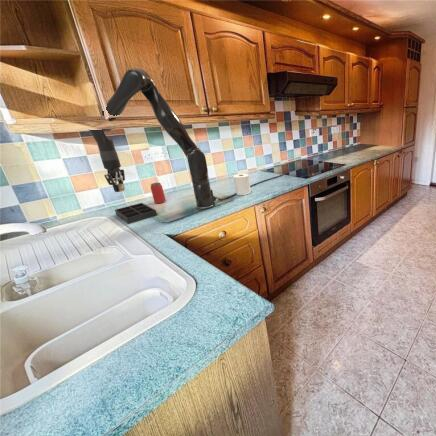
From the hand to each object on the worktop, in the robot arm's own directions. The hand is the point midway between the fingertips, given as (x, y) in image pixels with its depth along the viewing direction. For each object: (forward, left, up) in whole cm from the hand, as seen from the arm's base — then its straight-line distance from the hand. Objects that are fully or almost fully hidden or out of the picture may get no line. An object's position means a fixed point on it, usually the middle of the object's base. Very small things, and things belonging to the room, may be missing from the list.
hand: (119, 190), depth 142 cm
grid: (-3, +6, -14) cm, 16 cm away
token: (0, 0, 0) cm, 0 cm away
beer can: (-21, -6, -14) cm, 26 cm away
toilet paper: (-64, +24, -14) cm, 70 cm away
